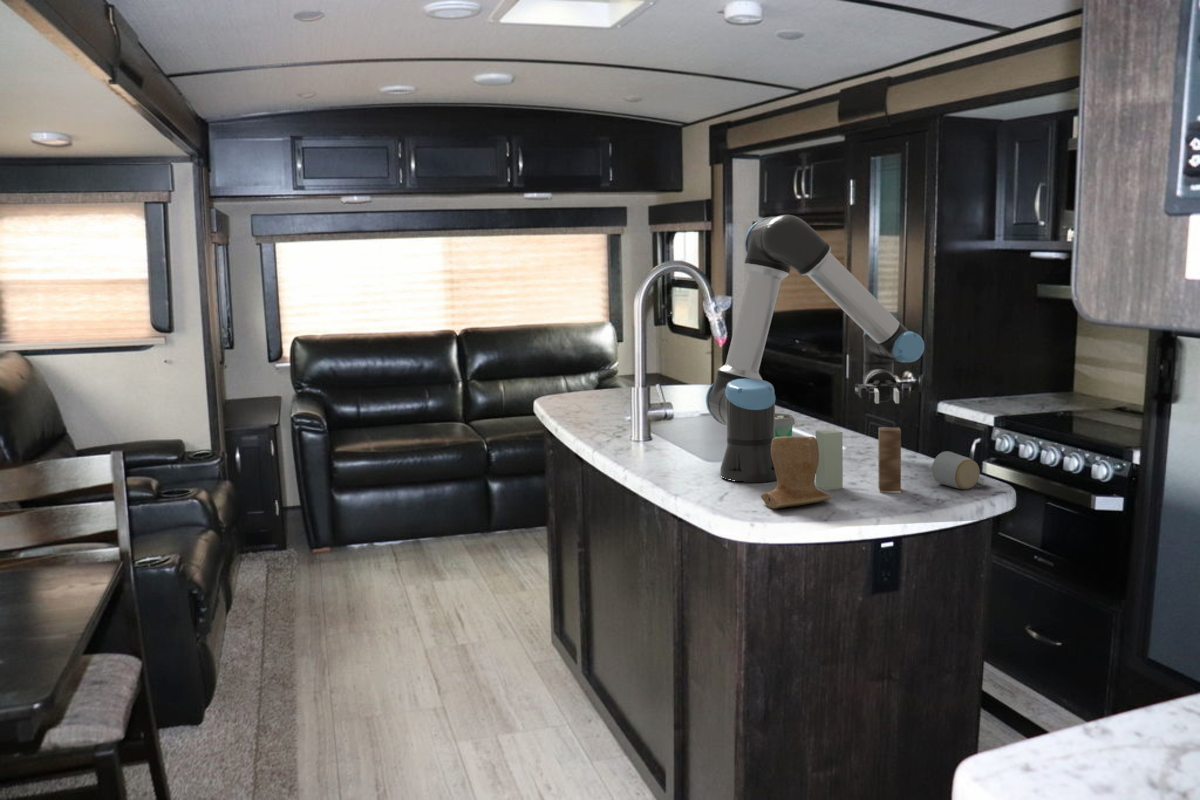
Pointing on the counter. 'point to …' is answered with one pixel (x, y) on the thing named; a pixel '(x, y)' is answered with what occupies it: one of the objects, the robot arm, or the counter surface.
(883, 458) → the walnut block
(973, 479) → the ceramic mug
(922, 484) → the counter surface
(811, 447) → the cork flared stand
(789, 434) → the food container
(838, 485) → the sage block
